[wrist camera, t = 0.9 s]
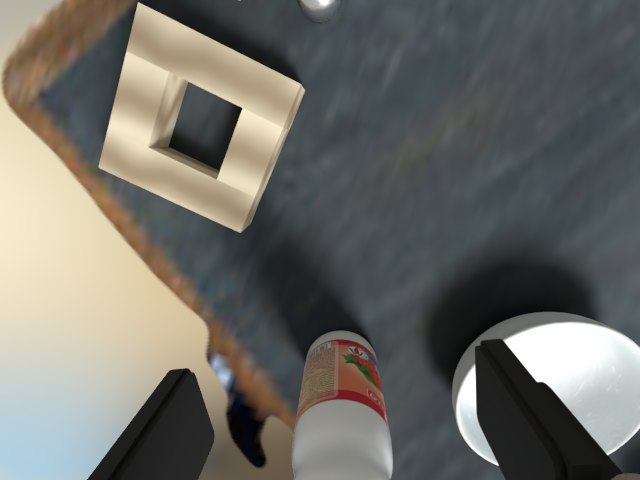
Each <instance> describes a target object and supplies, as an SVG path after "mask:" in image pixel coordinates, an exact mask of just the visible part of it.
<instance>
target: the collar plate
mask: <svg viewBox="0 0 640 480" xmlns="http://www.w3.org/2000/svg"><path fill="white" fill-rule="evenodd" d="M188 82H190V83H192V84H194V85H197V86H199V87H201V88H203V89H205V90H207V91H209V92H211V93H213V94H215V95H217V96H219V97H221V98H223V99H225V100H227V101H229V102H231V103H233V104H235V105H237V106H239V107H241V108H242V111H241V114H240V117H239V119H238V122H237V125H236V128H235V131H234V133H233V136H232V139H231V142H230V144H229V147H228V150H227V153H226V155H225V158H224V161H223V164H222V167H221V169H220V171H219V170H216V169H214V168H212V167H210V166H208V165H206V164H204V163H202V162H200V161H197V160H195V159H193V158H191V157H189V156H187V155H185V154H183V153H180V152H178V151H176V150H174V149H172V148H170V147H169V143H170V140H171V137H172V134H173V130H174V127H175V124H176V120H177V117H178V114H179V110H180V107H181V104H182V100H183V97H184V94H185V91H186V87H187V84H188ZM304 93H305V90H304V88H303V86H302V85H301V84H300V83H298V82H296V81H294V80H292V79H290V78H288V77H286V76H284V75H282V74H280V73H278V72H276V71H274V70H272V69H270V68H268V67H266V66H264V65H262V64H260V63H258V62H256V61H254V60H252V59H250V58H248V57H246V56H244V55H242V54H240V53H238V52H236V51H234V50H232V49H230V48H228V47H226V46H224V45H222V44H220V43H218V42H216V41H215V40H213V39H211V38H209V37H207V36H205V35H203V34H201V33H199V32H197V31H195V30H193V29H191V28H189V27H187V26H185V25H183V24H181V23H179V22H177V21H175V20H173V19H171V18H169V17H167V16H165V15H163V14H161V13H159V12H157V11H155V10H153V9H151V8H149V7H147V6H145V5H143V4H141V3H139V2H138V5H137V9H136V13H135V17H134V22H133V26H132V30H131V34H130V38H129V43H128V47H127V51H126V55H125V59H124V63H123V68H122V72H121V76H120V80H119V84H118V88H117V93H116V97H115V101H114V105H113V109H112V113H111V118H110V122H109V126H108V130H107V134H106V138H105V143H104V147H103V151H102V155H101V159H100V163H99V168H100V169H102V170H105V171H107V172H109V173H111V174H113V175H115V176H118V177H120V178H122V179H124V180H126V181H129V182H131V183H133V184H135V185H137V186H139V187H142V188H144V189H146V190H148V191H150V192H152V193H155V194H157V195H159V196H161V197H163V198H166V199H168V200H170V201H172V202H174V203H176V204H179V205H181V206H183V207H185V208H187V209H189V210H192V211H194V212H196V213H198V214H200V215H202V216H205V217H207V218H209V219H211V220H213V221H216V222H218V223H220V224H222V225H224V226H226V227H229V228H231V229H233V230H235V231H237V232H239V233H241V232H242V231H243V230H244V229H245V228H246V227H248V226H249V225H250V224H251V221H252V219H253V217H254V214H255V212H256V209H257V207H258V204H259V202H260V200H261V197H262V195H263V192H264V190H265V187H266V185H267V183H268V180H269V178H270V175H271V173H272V171H273V168H274V166H275V163H276V161H277V158H278V156H279V154H280V151H281V149H282V146H283V144H284V141H285V139H286V137H287V134H288V132H289V129H290V127H291V124H292V122H293V120H294V117H295V115H296V112H297V110H298V108H299V105H300V103H301V100H302V98H303V95H304Z"/></svg>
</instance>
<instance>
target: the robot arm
mask: <svg viewBox="0 0 640 480" xmlns="http://www.w3.org/2000/svg"><path fill="white" fill-rule="evenodd" d="M475 375H476V413H477V419H478V422H479V425H480V427H481V430H482V432H483V434H484V436H485V438H486V440H487V442H488V444H489V446H490V448H491V450H492V452H493V454H494V456H495V458H496V461H497V463H498V465H499V467H500V469H501V471H502V473H503V475H504V477H505V479H506V480H640V474H633V473H625V474H623V473H622V472H621V470H620V469H619V468H618V467H617V466H616V464H615V463H614V462H613V461H612V460H611V459H610V457H609V456H608V455H607V454H606V453H605V451H604V450H603V449H602V448H601V447H600V446H599V444H598V443H597V442H596V441H595V440H594V438H593V437H592V436H591V435H590V434H589V433H588V431H587V430H586V429H585V428H584V427H583V425H582V424H581V423H580V422H579V421H578V420H577V418H576V417H575V416H574V415H573V414H572V412H571V411H570V410H569V409H568V408H567V407H566V405H565V404H564V403H563V402H562V401H561V399H560V398H559V397H558V396H557V395H556V394H555V392H554V391H553V390H552V389H551V388H550V387H549V386H548V385H547V384H546V383H544V382H537V381H536V380H535V379H534V378H533V376H532V375H531V374H530V373H529V372H528V370H527V369H526V368H525V367H524V365H523V364H522V363H521V362H520V360H519V359H518V358H517V357H516V356H515V354H514V353H513V352H512V351H511V349H510V348H509V347H508V346H507V344H506V343H505V342H504V341H503V340H502V339H491V340H482V341H481V342H480V345H479V346H475ZM213 442H214V430H213V427H212V424H211V421H210V418H209V415H208V412H207V409H206V406H205V403H204V400H203V397H202V394H201V391H200V388H199V385H198V382H197V379H196V376H195V374H194V373H192V372H191V371H190V370H189V369H187V368H185V369H175V370H170V371H169V372H168V373H167V374H166V376H165V377H164V378H163V380H162V381H161V382H160V384H159V385H158V386H157V388H156V389H155V390H154V392H153V393H152V394H151V396H150V397H149V398H148V400H147V401H146V403H145V404H144V405H143V406H142V408H141V409H140V410H139V412H138V413H137V414H136V416H135V417H134V418H133V420H132V421H131V422H130V424H129V425H128V426H127V428H126V429H125V430H124V432H123V433H122V434H121V435H120V437H119V438H118V439H117V441H116V442H115V444H114V445H113V446H112V447H111V449H110V450H109V452H108V453H107V454H106V455H105V457H104V458H103V459H102V461H101V462H100V464H99V465H98V466H97V467H96V469H95V470H94V472H93V473H92V474H91V475H90V477H89V478H88V479H87V480H198V478H199V476H200V474H201V471H202V469H203V466H204V464H205V462H206V459H207V457H208V455H209V452H210V450H211V448H212V445H213Z"/></svg>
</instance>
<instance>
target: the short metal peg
mask: <svg viewBox="0 0 640 480" xmlns="http://www.w3.org/2000/svg"><path fill="white" fill-rule="evenodd" d="M299 2H300V5H301V9H302V11H303V13H304V15H305V16H306V17H307V18H308V19H309V20H310V21H312V22H314V23H319V24H322V23H326V22H328V21H330V20H332V19H333V18H334V17H335V16H336V14H337V13H338V11H339V8H340V5H341V0H299Z"/></svg>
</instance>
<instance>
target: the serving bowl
mask: <svg viewBox="0 0 640 480" xmlns="http://www.w3.org/2000/svg"><path fill="white" fill-rule="evenodd" d="M491 339H502V340H503V341H504V342H505V343H506V344H507V346H508V347H509V348H510V349H511V351H512V352H513V353H514V354H515V356H516V357H517V358H518V359H519V360H520V362H521V363H522V364H523V365H524V367H525V368H526V369H527V370H528V372H529V373H530V374H531V375H532V376H533V378H534V379H535V380H536V381H537V382H544V383H546V384H547V385H548V386H549V387H550V388H551V389H552V390H553V391H554V392H555V394H556V395H557V396H558V397H559V398H560V399H561V401H562V402H563V403H564V404H565V405H566V407H567V408H568V409H569V410H570V411H571V412H572V414H573V415H574V416H575V417H576V418H577V420H578V421H579V422H580V423H581V424H582V425H583V427H584V428H585V429H586V430H587V431H588V433H589V434H590V435H591V436H592V437H593V438H594V440H595V441H596V442H597V443H598V444H599V446H600V447H601V448H602V449H603V450H604V451H605V453H606V454H607V455H609V454H610V453H612V452H614V451H615V450H617V449H618V448H619V447H621V446H622V445H623V444H625V443H626V442H627V441H628V440H629V439H630V438H631V437H632V436H633V435H634V434H635V433H636V432H637V431H638V430H639V428H640V347H639V346H638V345H637V344H636V343H635V342H634V341H632V340H631V339H630V338H628V337H627V336H625V335H624V334H622V333H620V332H619V331H617V330H615V329H613V328H611V327H609V326H607V325H605V324H602V323H600V322H597V321H595V320H592V319H589V318H586V317H583V316H579V315H575V314H569V313H561V312H536V313H529V314H524V315H520V316H516V317H513V318H510V319H507V320H505V321H502V322H500V323H498V324H496V325H494V326H493V327H491V328H490V329H488V330H487V331H485V332H484V333H482V334H481V335H480V336H479V337H478V338H477V339H476V340H475V341H474V342H473V343H472V344H471V345H470V346H469V347H468V349H467V350H466V351H465V353H464V354H463V356H462V357H461V359H460V361H459V363H458V366H457V368H456V371H455V374H454V379H453V385H452V401H453V409H454V414H455V418H456V422H457V425H458V428H459V430H460V432H461V434H462V436H463V438H464V439H465V441H466V442H467V443H468V445H469V446H470V447H471V448H472V449H473V450H474V451H475V452H476V453H477V454H479V455H480V456H481V457H483V458H484V459H486V460H488V461H489V462H491V463H493V464H495V465H498V463H497V461H496V458H495V456H494V454H493V452H492V450H491V448H490V446H489V444H488V442H487V440H486V438H485V436H484V434H483V432H482V430H481V427H480V425H479V422H478V419H477V413H476V375H475V346H479V345H480V342H481V341H482V340H491ZM498 466H499V465H498Z"/></svg>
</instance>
